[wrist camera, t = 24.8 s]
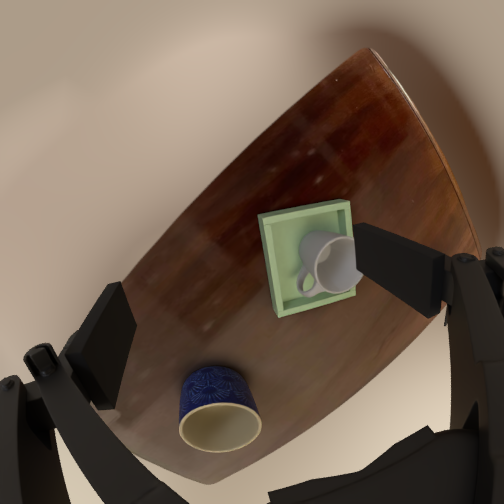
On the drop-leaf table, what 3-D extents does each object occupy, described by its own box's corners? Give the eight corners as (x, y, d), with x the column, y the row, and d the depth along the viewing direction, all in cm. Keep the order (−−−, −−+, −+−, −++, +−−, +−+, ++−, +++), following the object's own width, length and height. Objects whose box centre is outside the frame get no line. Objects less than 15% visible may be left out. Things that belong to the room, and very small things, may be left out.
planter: (261, 386, 50) (277, 429, 39) (209, 417, 50) (215, 460, 39) (219, 345, 46) (228, 390, 35) (164, 381, 46) (161, 427, 35)
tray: (257, 214, 41) (262, 217, 38) (340, 198, 43) (349, 201, 40) (273, 309, 46) (278, 317, 43) (347, 288, 47) (355, 295, 44)
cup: (347, 244, 45) (377, 260, 36) (305, 293, 45) (328, 318, 37) (315, 212, 42) (342, 223, 34) (271, 265, 43) (288, 287, 35)
